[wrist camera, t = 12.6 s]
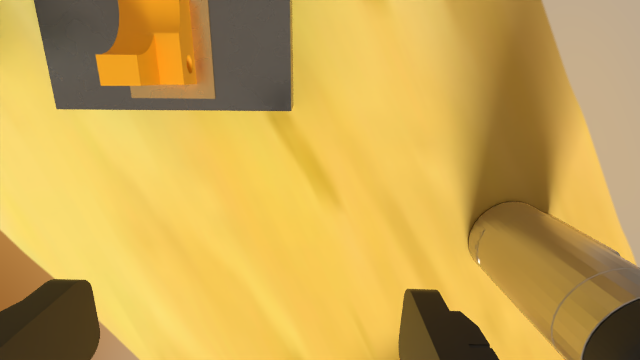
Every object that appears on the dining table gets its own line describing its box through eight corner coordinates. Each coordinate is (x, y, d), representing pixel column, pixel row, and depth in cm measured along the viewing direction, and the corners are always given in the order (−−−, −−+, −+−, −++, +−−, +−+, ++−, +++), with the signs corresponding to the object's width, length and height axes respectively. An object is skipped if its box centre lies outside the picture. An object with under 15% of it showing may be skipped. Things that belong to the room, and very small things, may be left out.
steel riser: (291, -79, 30) (288, -109, 25) (293, 106, 35) (291, 111, 30) (57, -86, 29) (6, -120, 24) (91, 104, 34) (55, 109, 29)
